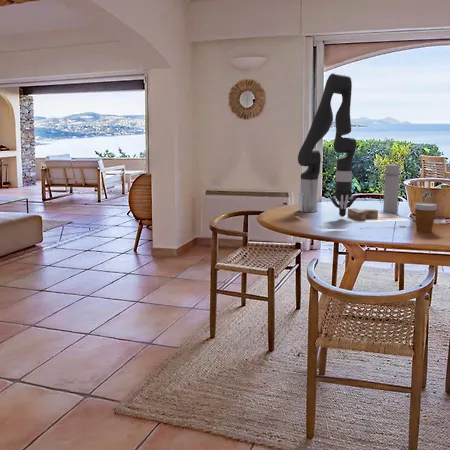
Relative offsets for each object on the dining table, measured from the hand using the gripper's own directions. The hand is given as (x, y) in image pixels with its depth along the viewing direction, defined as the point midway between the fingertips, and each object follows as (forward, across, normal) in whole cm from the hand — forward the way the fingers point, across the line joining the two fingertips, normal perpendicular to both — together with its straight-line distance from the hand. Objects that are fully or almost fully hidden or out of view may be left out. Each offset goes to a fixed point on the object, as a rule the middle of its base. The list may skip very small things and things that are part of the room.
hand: (342, 216), depth 263 cm
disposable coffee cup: (+3, -26, +29) cm, 39 cm away
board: (+2, -16, 0) cm, 16 cm away
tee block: (+1, -11, 0) cm, 11 cm away
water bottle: (+3, -34, -21) cm, 40 cm away
